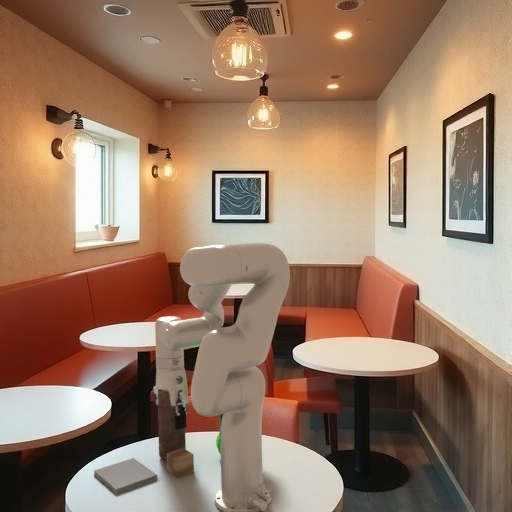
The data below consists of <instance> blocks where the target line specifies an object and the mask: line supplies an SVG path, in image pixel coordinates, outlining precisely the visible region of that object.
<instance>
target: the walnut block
mask: <svg viewBox="0 0 512 512" xmlns="http://www.w3.org/2000/svg"><path fill="white" fill-rule="evenodd" d="M194 459H195V458H194V453H192V452H191V451H189V450H187V448H186V449H184V448H181V449H178V450H175V451H172V452H169V453H167V459H166V472H167V473H168V474H170V475H171V476H172V477H173V478H175V479H181V478H183V477H186V476H189V475H191V474H194V473H195V463H194Z"/></svg>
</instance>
